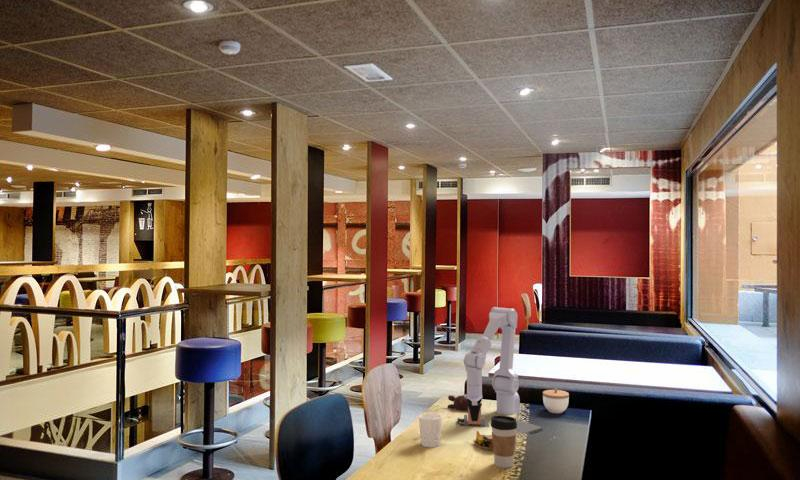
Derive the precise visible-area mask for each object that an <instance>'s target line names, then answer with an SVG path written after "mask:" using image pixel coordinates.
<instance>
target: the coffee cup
mask: <svg viewBox="0 0 800 480" xmlns="http://www.w3.org/2000/svg"><path fill="white" fill-rule="evenodd" d="M490 421H491V422H490V427H491V435H492V440H493V450H492V451H493V458H494V459H493V461H494V465H495V466H496V467H497V466H498V468H501V467H502V468H501V469H509V468H512V467H514V459H515V449H516V438H517V431H516V428H517V418H515V417H513V416H509V415H493V416H492V417H491V419H490Z"/></svg>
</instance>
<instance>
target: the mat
mask: <svg viewBox="0 0 800 480" xmlns="http://www.w3.org/2000/svg"><path fill="white" fill-rule="evenodd" d="M516 422H517V428H516V433H520V434H527V433H529V434H530V435H531V434H534V433H538V432H541V431H543V427H542V426H538V425H536V424H532V423H529V422H525V421H523V420H522V421H521V420H516Z"/></svg>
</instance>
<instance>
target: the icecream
mask: <svg viewBox="0 0 800 480" xmlns="http://www.w3.org/2000/svg"><path fill="white" fill-rule="evenodd" d="M464 395H465V394H462V395H458V396H456V397H455V396H454V395H448V396H447V397H448V398H447V400H448V401H450V402H453V403H451V404H448V405H447V409H455V410H456V411H457V410H458V411H464V410H468V405H467V402H468V400H467V399H468V398H467V397H464Z"/></svg>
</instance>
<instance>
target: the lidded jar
mask: <svg viewBox="0 0 800 480" xmlns="http://www.w3.org/2000/svg"><path fill="white" fill-rule="evenodd" d="M569 399H570V393H569V392H567V391H565V390H561V389H558V388H554V389H546V390H543V391H542V401H543V402H542V403H543V405H544V407H545V408H546V410H547V411H548V412H549V413H551V414H563V413H564V411H565V410H566V409H567V408H568V406H569V403H570V402H569V401H570V400H569Z"/></svg>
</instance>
